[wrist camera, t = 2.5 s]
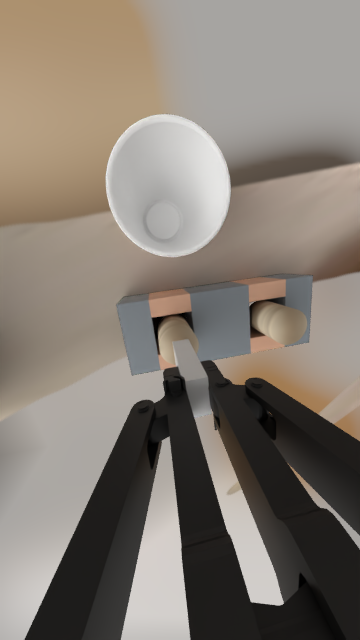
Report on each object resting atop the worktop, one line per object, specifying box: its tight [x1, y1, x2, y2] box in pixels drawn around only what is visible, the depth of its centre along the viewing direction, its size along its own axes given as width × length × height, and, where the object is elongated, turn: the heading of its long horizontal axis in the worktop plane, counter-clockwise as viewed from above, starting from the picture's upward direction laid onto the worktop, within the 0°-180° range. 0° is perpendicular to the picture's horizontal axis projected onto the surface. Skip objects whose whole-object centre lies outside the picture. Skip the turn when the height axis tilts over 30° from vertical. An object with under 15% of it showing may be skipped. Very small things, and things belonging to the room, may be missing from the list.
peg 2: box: [249, 300, 307, 345], centre depth 24 cm, size 4×4×6 cm
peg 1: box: [158, 314, 199, 365], centre depth 23 cm, size 4×4×6 cm
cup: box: [106, 114, 231, 257], centre depth 21 cm, size 10×10×11 cm
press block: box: [116, 274, 313, 375], centre depth 27 cm, size 24×9×6 cm, turn 97°
